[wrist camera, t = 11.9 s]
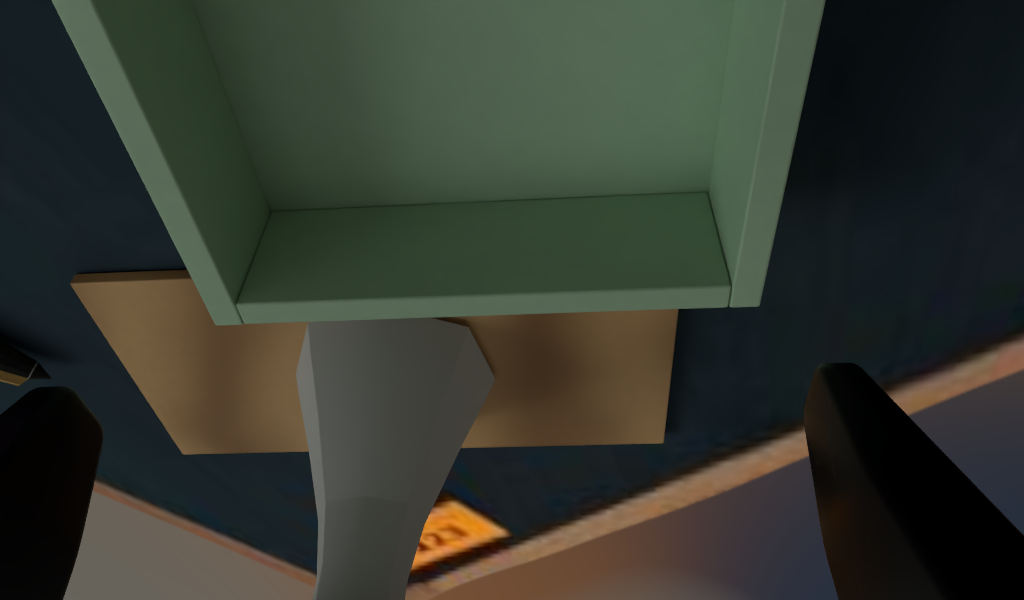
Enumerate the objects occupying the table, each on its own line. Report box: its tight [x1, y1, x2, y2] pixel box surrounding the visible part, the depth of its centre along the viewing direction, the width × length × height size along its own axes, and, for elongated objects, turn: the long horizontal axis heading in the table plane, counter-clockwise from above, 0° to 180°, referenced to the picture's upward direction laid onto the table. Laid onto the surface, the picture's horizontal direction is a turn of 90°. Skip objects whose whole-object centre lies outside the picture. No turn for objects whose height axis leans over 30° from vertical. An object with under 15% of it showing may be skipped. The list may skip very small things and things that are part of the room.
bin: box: [52, 0, 826, 326], centre depth 17 cm, size 15×15×4 cm
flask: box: [296, 318, 495, 600], centre depth 25 cm, size 7×7×10 cm
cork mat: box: [70, 270, 679, 454], centre depth 29 cm, size 20×10×1 cm, turn 94°
